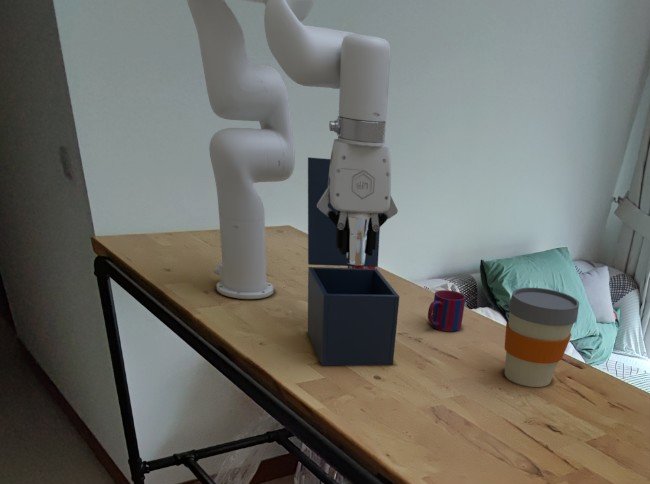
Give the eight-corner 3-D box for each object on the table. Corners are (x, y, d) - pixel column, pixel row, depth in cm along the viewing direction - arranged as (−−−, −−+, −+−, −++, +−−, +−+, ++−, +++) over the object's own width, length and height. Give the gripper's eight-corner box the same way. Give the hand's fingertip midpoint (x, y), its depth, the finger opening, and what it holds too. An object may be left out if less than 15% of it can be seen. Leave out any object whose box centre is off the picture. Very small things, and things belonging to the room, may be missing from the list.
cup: (467, 328, 142) (472, 297, 138) (435, 336, 137) (439, 304, 133) (445, 319, 146) (450, 288, 142) (413, 326, 140) (417, 294, 136)
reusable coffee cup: (483, 366, 126) (498, 287, 117) (537, 362, 131) (555, 286, 122) (516, 393, 118) (535, 311, 108) (572, 388, 122) (595, 308, 113)
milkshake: (345, 257, 118) (346, 196, 112) (372, 263, 116) (375, 201, 110) (334, 263, 114) (336, 200, 108) (362, 268, 113) (365, 205, 107)
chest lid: (383, 163, 117) (382, 163, 117) (308, 157, 113) (307, 157, 114) (377, 266, 126) (376, 266, 127) (308, 264, 122) (307, 263, 123)
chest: (393, 364, 122) (399, 296, 114) (321, 365, 118) (323, 294, 111) (372, 332, 134) (377, 268, 127) (307, 332, 131) (308, 266, 123)
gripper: (313, 130, 98) (311, 257, 109) (418, 140, 103) (406, 260, 114) (305, 124, 104) (305, 245, 115) (405, 133, 108) (395, 249, 119)
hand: (355, 252), depth 114 cm, fingers closed on milkshake, 4 cm apart
